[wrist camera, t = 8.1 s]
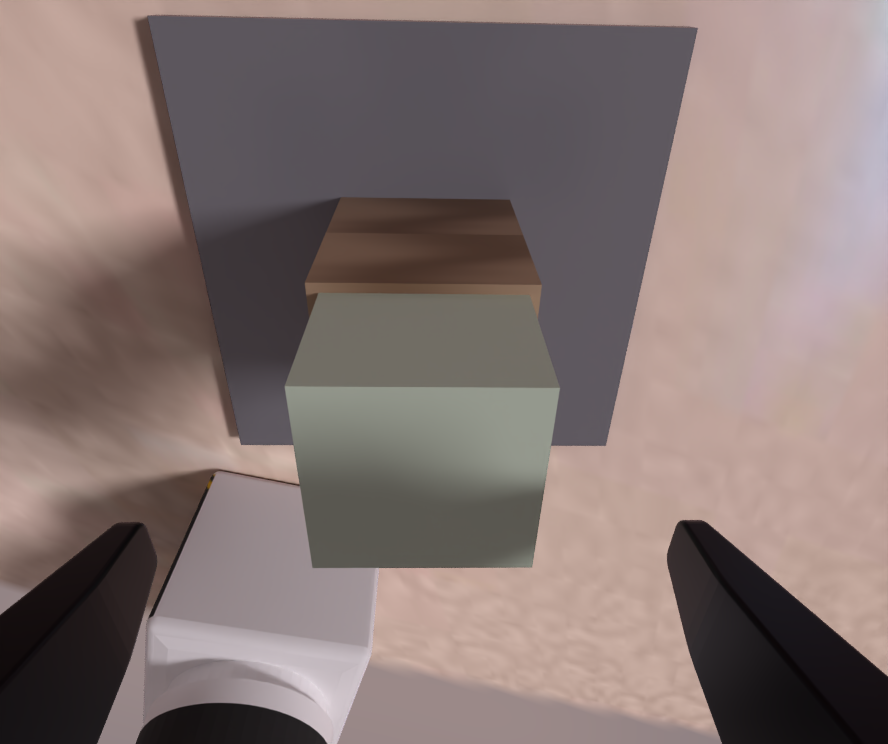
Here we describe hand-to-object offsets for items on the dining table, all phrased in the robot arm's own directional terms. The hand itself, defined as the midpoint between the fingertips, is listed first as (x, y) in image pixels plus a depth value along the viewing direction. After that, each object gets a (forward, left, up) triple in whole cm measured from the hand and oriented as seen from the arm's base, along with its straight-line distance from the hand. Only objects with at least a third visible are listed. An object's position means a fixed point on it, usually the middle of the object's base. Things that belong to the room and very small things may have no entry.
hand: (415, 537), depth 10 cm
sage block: (0, 0, -5) cm, 5 cm away
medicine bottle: (+6, +13, -11) cm, 18 cm away
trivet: (0, 0, -11) cm, 11 cm away
